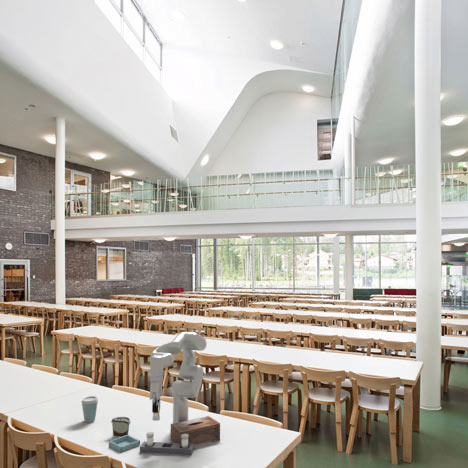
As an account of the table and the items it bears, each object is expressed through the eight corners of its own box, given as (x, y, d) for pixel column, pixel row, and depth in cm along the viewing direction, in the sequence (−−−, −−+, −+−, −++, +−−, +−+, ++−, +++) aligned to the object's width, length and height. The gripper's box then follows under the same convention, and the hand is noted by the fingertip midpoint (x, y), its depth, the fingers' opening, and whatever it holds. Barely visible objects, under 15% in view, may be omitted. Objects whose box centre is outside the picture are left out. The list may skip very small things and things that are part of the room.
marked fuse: (156, 417, 242) (156, 401, 243) (161, 419, 240) (161, 402, 240) (151, 419, 239) (151, 403, 240) (155, 421, 236) (155, 404, 237)
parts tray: (127, 440, 252) (127, 434, 253) (140, 446, 244) (140, 440, 244) (108, 447, 243) (108, 441, 243) (120, 453, 235) (121, 447, 235)
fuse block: (139, 454, 234) (139, 446, 235) (143, 448, 241) (144, 441, 242) (191, 457, 231) (191, 449, 231) (194, 451, 238) (194, 443, 238)
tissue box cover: (208, 432, 266) (208, 416, 266) (220, 440, 253) (220, 423, 254) (170, 441, 252) (170, 424, 253) (180, 450, 240) (180, 432, 241)
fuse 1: (150, 447, 240) (150, 431, 241) (154, 449, 237) (155, 433, 238) (144, 450, 237) (145, 433, 238) (149, 452, 235) (149, 435, 235)
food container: (134, 434, 262) (134, 417, 263) (128, 438, 256) (129, 421, 257) (116, 432, 266) (116, 415, 266) (110, 435, 260) (111, 419, 260)
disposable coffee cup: (92, 424, 278) (92, 401, 279) (77, 423, 280) (78, 400, 281) (100, 418, 289) (101, 396, 290) (86, 417, 291) (86, 395, 292)
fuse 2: (185, 449, 238) (185, 433, 239) (189, 451, 235) (190, 435, 236) (179, 451, 235) (179, 435, 236) (184, 454, 232) (184, 437, 233)
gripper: (154, 374, 250) (153, 405, 248) (146, 381, 233) (145, 416, 232) (166, 374, 249) (166, 406, 248) (159, 382, 232) (159, 416, 231)
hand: (156, 410), depth 240 cm, fingers closed on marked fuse, 4 cm apart
